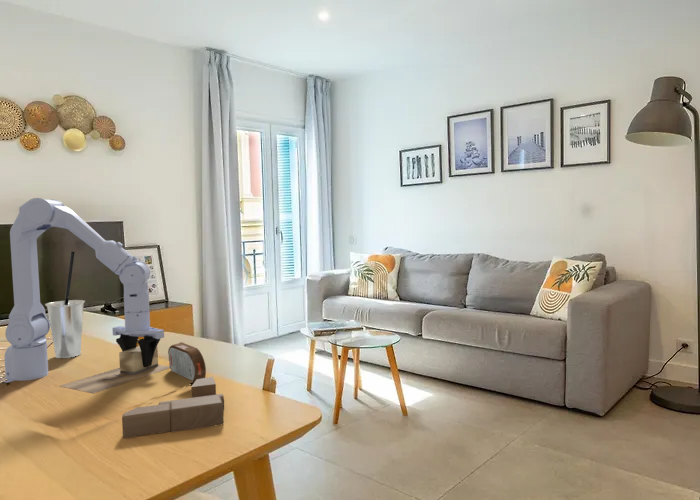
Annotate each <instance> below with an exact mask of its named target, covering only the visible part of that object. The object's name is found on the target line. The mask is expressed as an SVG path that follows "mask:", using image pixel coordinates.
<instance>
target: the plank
mask: <svg viewBox="0 0 700 500" xmlns="http://www.w3.org/2000/svg"><path fill="white" fill-rule="evenodd" d="M168 369H170V365H163V364H158V366H156V367H154V368H151V369H148V370H146V371H143V372H140V373H138V374H135V375H133V374H124V373H120V367H118V368H117V367H116V368H114V369H111V370H107V371H104V372H101V373H98V374H94V375H91V376H88V377H84V378H81V379H78V380H75V381H71V382H67V383H64V384H61V385H59V387H61V388H62V387H63V388H67V389H72V390H76V391H80V392H85V393H89V394H96V393H99V392H102V391H105V390H108V389H112V388H115V387H117V386H120V385H124V384H126V383H129V382H133V381H135V380H138V379H141V378H144V377H147V376H150V375H153V374H156V373H159V372H162V371H165V370H168Z"/></svg>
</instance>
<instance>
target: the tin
mask: <svg viewBox="0 0 700 500" xmlns="http://www.w3.org/2000/svg"><path fill="white" fill-rule="evenodd" d="M167 354H168V361H169V365H168V366H170V368H169V369H170V371H171V373H175V374H177V375H179V376H180V377H183V378H186V379H188V380H190V381H192V382H190V383H189V385H190V384H191V386H192V385H193V384H194V382H195V381H196V379H202V378H206V376H207V369H206V362H205V359H204V356H203V354H202V353H201V351H200V350H199V349H198V348H197V347H196V346H193V345H190V344H188V343H185V342H183V341H181V342H179V343H175V344H172V345H170V346H169V347H168V351H167Z"/></svg>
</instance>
